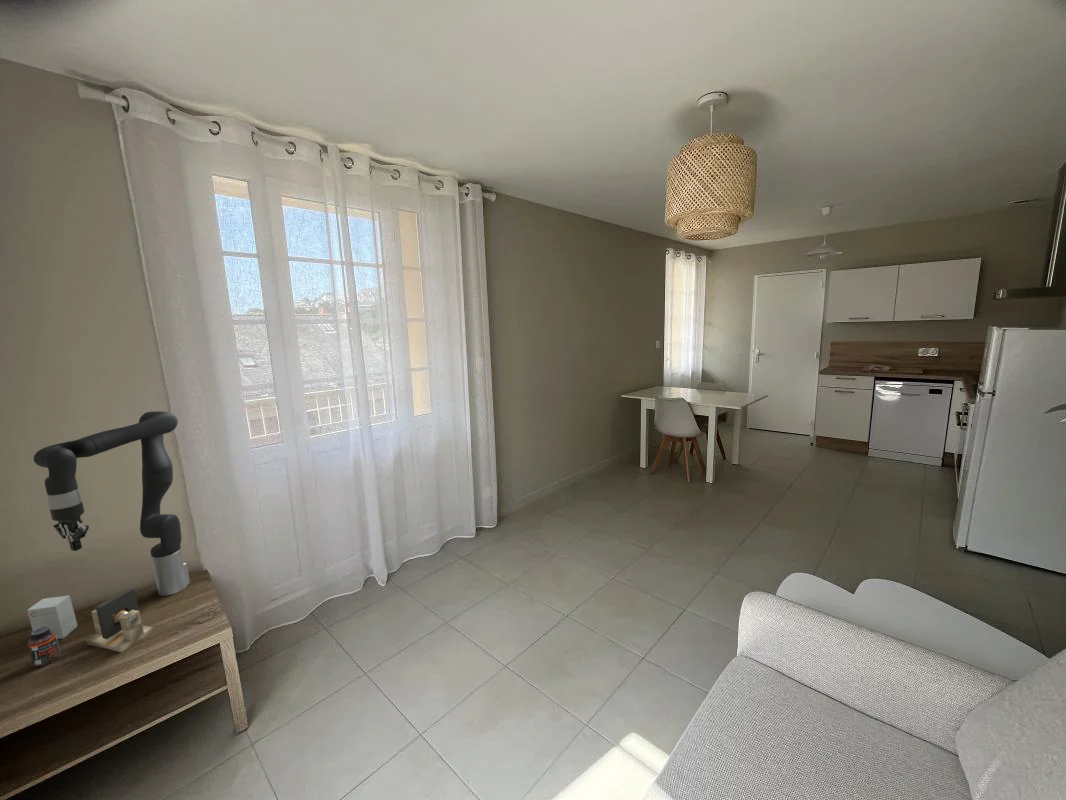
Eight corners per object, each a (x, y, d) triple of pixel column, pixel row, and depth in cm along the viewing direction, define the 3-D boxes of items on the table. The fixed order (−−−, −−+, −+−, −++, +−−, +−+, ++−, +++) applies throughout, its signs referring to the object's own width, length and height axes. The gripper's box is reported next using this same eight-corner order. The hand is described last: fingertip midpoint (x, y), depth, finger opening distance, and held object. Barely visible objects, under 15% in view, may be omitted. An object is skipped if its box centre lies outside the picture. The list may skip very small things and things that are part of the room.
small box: (78, 626, 151) (70, 594, 149) (63, 638, 145) (55, 606, 143) (50, 629, 149) (42, 598, 147) (34, 643, 143) (26, 610, 141)
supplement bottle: (41, 669, 133) (33, 638, 130) (28, 666, 134) (19, 636, 132) (65, 654, 138) (58, 625, 136) (52, 651, 139) (45, 622, 137)
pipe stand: (120, 623, 152) (114, 597, 150) (153, 630, 149) (148, 604, 147) (86, 644, 143) (80, 616, 141) (121, 652, 139) (115, 624, 137)
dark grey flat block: (136, 617, 150) (130, 588, 147) (140, 618, 149) (134, 588, 147) (102, 638, 140) (95, 606, 138) (107, 639, 140) (99, 607, 137)
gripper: (93, 500, 142) (104, 546, 146) (65, 497, 145) (76, 541, 149) (65, 510, 135) (77, 557, 139) (36, 506, 138) (48, 553, 141)
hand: (76, 549), depth 144 cm, fingers closed
